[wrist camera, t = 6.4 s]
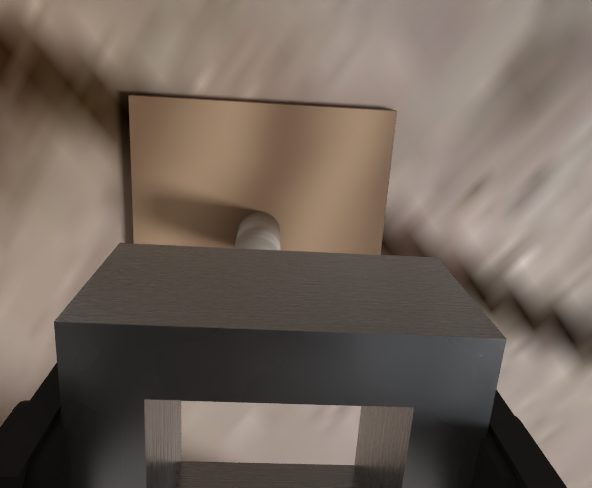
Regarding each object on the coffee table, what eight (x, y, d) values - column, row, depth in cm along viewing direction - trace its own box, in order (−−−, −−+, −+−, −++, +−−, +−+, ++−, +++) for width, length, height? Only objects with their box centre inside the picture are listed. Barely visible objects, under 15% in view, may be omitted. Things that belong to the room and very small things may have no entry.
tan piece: (394, 110, 26) (425, 123, 20) (367, 340, 29) (388, 403, 24) (131, 94, 25) (93, 104, 20) (139, 332, 29) (109, 394, 23)
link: (437, 257, 11) (506, 338, 8) (399, 507, 13) (441, 655, 10) (119, 242, 11) (54, 321, 8) (129, 502, 13) (80, 655, 10)
